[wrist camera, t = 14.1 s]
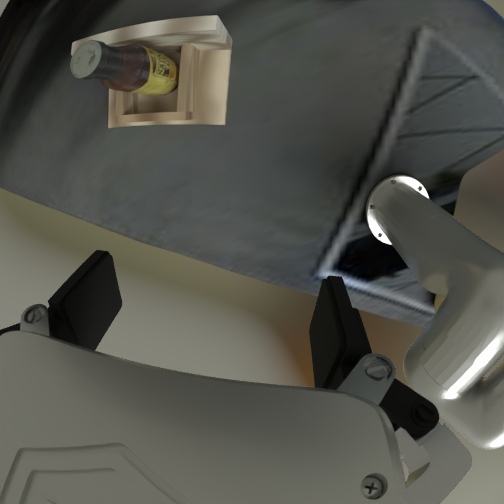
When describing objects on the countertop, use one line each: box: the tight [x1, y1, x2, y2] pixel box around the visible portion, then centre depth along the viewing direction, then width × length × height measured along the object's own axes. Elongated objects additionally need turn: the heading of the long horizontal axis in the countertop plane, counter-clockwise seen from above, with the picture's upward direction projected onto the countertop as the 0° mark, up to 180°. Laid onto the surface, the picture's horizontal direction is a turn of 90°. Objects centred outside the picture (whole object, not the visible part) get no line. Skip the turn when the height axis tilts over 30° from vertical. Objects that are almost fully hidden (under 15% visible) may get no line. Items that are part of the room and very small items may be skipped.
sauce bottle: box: [70, 40, 180, 96], centre depth 25 cm, size 6×6×20 cm
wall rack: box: [71, 15, 232, 128], centre depth 30 cm, size 20×14×12 cm
